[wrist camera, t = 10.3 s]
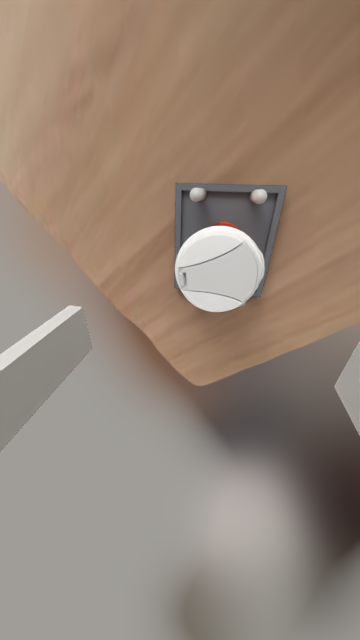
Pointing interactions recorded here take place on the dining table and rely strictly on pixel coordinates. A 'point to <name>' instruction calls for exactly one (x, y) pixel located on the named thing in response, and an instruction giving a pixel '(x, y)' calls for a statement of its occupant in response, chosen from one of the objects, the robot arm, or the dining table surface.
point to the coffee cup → (219, 268)
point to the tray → (230, 213)
